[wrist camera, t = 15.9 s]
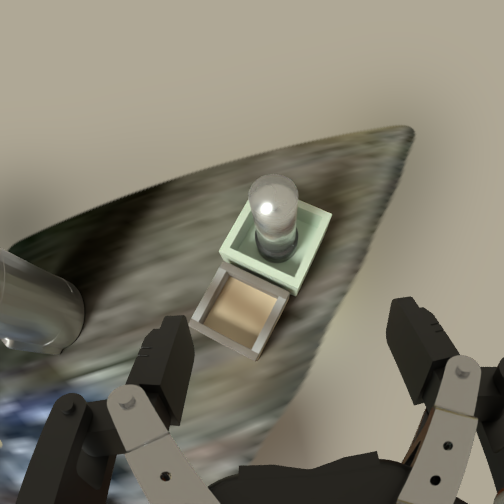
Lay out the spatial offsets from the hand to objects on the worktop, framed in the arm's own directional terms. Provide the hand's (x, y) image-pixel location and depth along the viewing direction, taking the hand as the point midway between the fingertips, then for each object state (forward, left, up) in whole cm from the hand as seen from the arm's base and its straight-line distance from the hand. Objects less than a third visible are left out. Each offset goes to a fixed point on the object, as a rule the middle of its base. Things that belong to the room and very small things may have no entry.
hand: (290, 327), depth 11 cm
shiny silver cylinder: (+10, +5, -20) cm, 23 cm away
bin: (+10, +5, -21) cm, 24 cm away
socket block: (+1, +5, -21) cm, 21 cm away
